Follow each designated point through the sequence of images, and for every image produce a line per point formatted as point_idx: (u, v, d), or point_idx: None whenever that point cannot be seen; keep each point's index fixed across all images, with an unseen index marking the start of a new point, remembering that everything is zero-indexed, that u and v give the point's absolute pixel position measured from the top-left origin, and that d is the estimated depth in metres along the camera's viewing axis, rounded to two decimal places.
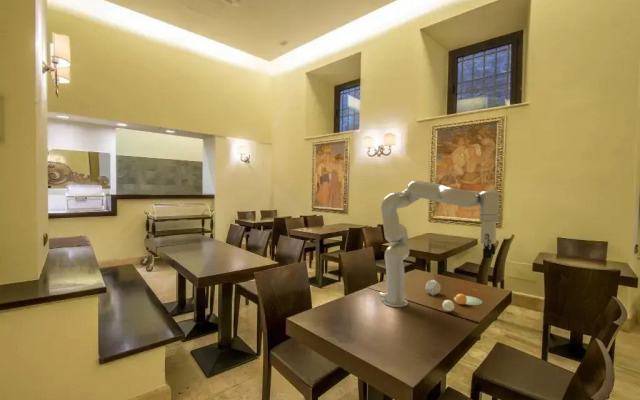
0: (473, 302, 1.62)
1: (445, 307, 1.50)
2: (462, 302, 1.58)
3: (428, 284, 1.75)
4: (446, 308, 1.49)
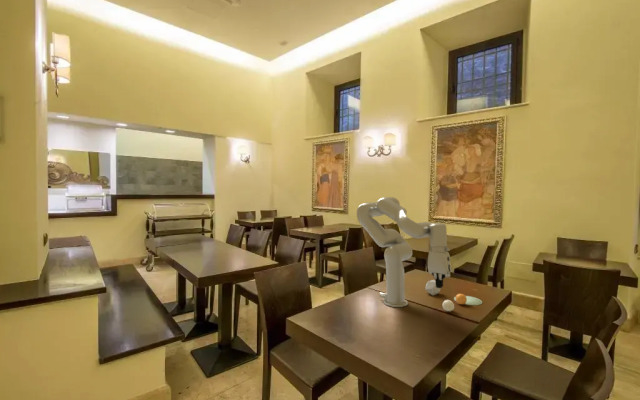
0: (473, 302, 1.62)
1: (445, 307, 1.50)
2: (462, 302, 1.58)
3: (428, 284, 1.75)
4: (446, 308, 1.49)
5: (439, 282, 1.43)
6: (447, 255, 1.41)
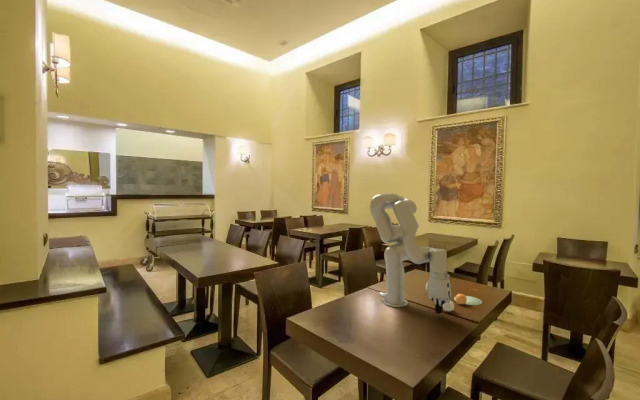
0: (473, 302, 1.62)
1: (445, 307, 1.50)
2: (462, 302, 1.58)
3: None
4: (446, 308, 1.49)
5: (439, 308, 1.44)
6: (447, 281, 1.41)
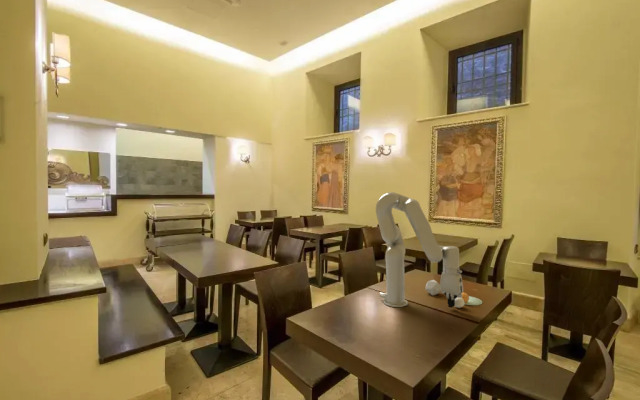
0: (473, 302, 1.62)
1: None
2: (464, 297, 1.60)
3: (428, 284, 1.75)
4: None
5: (451, 302, 1.52)
6: (459, 277, 1.49)
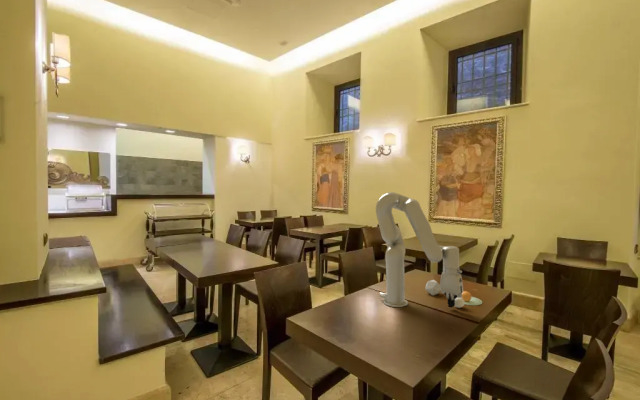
0: (473, 302, 1.62)
1: None
2: (469, 293, 1.63)
3: (428, 284, 1.75)
4: None
5: (451, 302, 1.52)
6: (459, 277, 1.49)
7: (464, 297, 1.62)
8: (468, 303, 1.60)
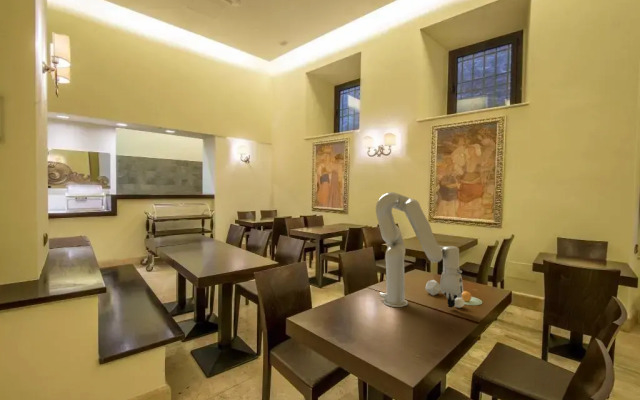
0: (473, 302, 1.62)
1: None
2: (469, 293, 1.63)
3: (428, 284, 1.75)
4: None
5: (451, 302, 1.52)
6: (459, 277, 1.49)
7: (464, 297, 1.62)
8: (468, 303, 1.60)
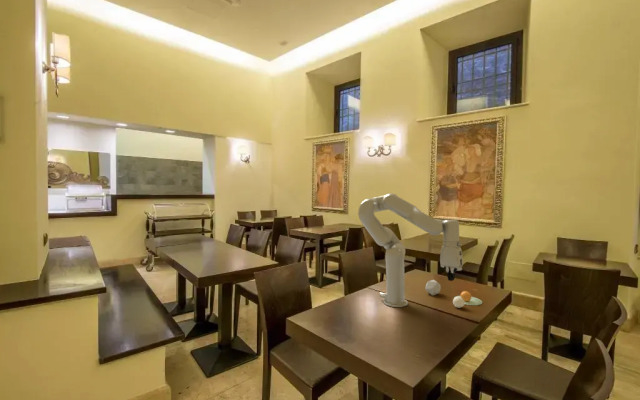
0: (473, 302, 1.62)
1: None
2: (469, 293, 1.63)
3: (428, 284, 1.75)
4: None
5: (451, 275, 1.51)
6: (459, 250, 1.49)
7: (464, 297, 1.62)
8: (468, 303, 1.60)
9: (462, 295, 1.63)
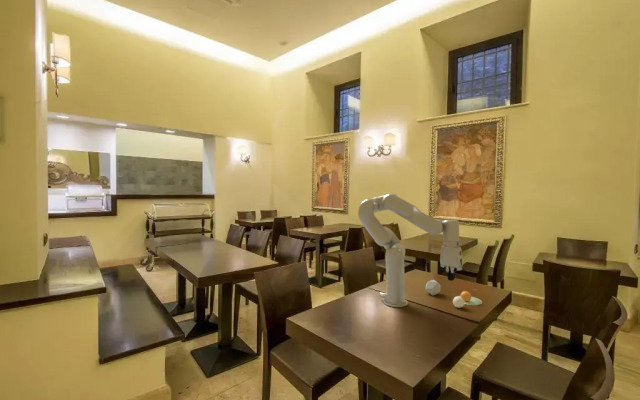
0: (473, 302, 1.62)
1: None
2: (469, 293, 1.63)
3: (428, 284, 1.75)
4: None
5: (451, 275, 1.51)
6: (459, 250, 1.49)
7: (464, 297, 1.62)
8: (468, 303, 1.60)
9: (462, 295, 1.63)
